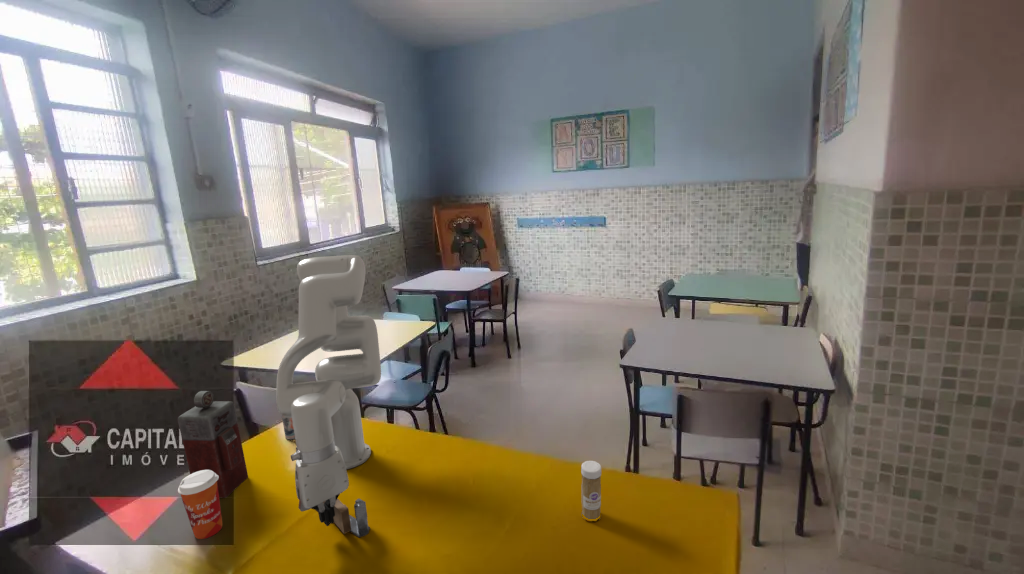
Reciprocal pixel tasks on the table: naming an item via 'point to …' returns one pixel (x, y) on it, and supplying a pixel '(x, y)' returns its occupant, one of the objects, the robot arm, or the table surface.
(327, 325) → the robot arm
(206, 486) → the paper cup
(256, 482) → the table surface
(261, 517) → the table surface
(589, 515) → the sprinkles bottle
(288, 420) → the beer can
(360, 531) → the gate posts
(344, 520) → the gate
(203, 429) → the vintage gas pump
